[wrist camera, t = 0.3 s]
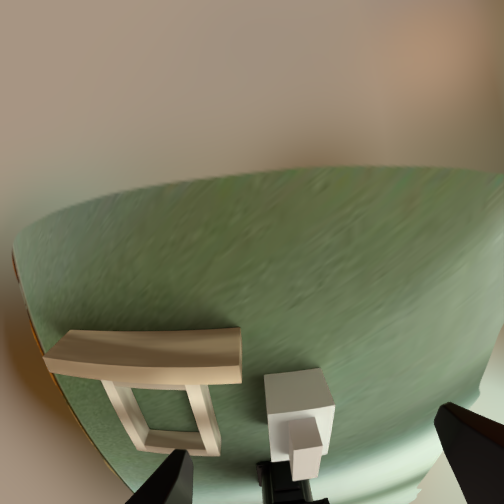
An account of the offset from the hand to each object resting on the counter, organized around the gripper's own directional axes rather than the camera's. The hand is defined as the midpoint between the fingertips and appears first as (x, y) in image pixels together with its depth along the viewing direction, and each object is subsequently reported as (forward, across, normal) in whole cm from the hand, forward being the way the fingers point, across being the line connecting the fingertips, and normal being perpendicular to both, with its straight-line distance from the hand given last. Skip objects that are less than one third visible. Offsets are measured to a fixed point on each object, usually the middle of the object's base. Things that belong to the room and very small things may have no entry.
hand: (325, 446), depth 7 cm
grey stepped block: (+14, -1, +11) cm, 18 cm away
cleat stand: (+14, +11, +9) cm, 20 cm away
